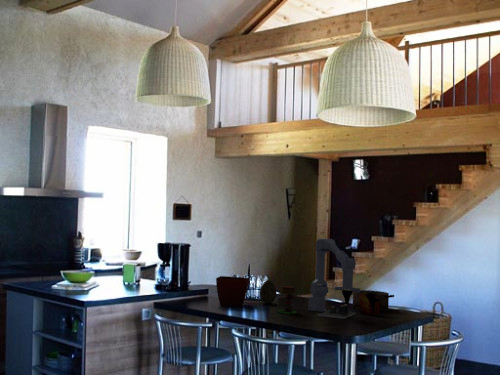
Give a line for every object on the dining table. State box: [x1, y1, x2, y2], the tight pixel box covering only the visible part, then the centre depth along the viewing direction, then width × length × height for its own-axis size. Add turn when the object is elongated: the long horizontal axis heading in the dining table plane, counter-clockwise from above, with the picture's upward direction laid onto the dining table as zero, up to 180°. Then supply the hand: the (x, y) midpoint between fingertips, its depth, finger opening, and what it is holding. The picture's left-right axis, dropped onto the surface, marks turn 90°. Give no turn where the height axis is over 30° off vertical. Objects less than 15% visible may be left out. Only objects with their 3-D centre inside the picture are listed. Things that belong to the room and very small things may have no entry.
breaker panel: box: [317, 308, 357, 320], centre depth 370 cm, size 16×22×2 cm
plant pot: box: [215, 275, 251, 308], centre depth 394 cm, size 19×19×17 cm
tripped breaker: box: [329, 306, 337, 314], centre depth 364 cm, size 2×4×4 cm, turn 155°
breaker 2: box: [341, 304, 349, 312], centre depth 375 cm, size 2×4×4 cm, turn 155°
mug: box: [358, 293, 380, 316], centre depth 380 cm, size 10×14×12 cm
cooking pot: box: [351, 289, 395, 313], centre depth 403 cm, size 30×22×11 cm
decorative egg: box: [259, 279, 277, 305], centre depth 409 cm, size 11×11×15 cm
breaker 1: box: [338, 305, 345, 314], centre depth 369 cm, size 2×4×4 cm, turn 155°
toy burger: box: [277, 285, 298, 315], centre depth 373 cm, size 12×13×15 cm
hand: (346, 303), depth 361 cm, fingers closed
